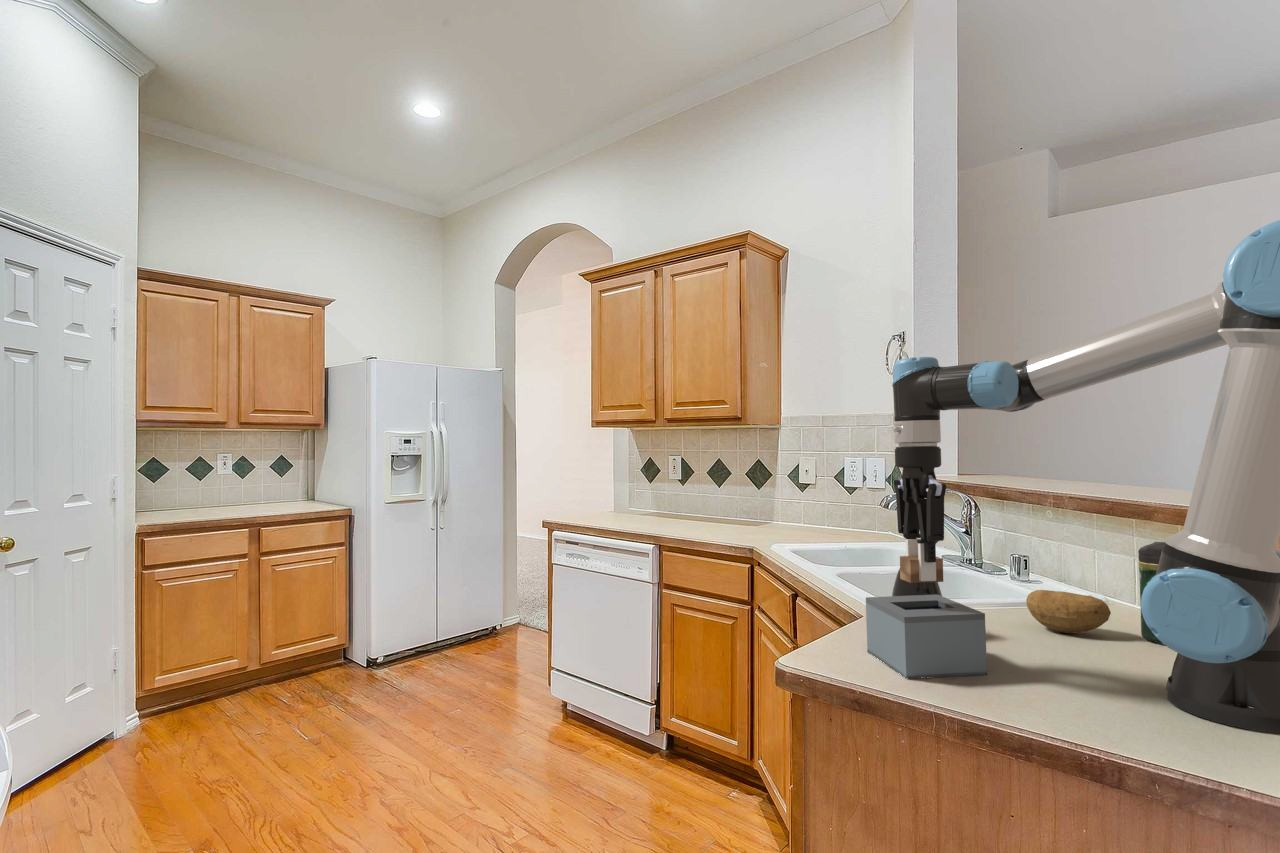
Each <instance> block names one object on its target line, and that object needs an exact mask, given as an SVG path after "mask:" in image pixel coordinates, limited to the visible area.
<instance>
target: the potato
mask: <svg viewBox="0 0 1280 853" xmlns="http://www.w3.org/2000/svg"><path fill="white" fill-rule="evenodd" d="M1025 601H1026V607H1027V609H1028V612H1030V614H1031V615H1032V617H1033V618H1034V619H1035V620H1036V621H1037V622H1038V623H1039V624H1041V625H1042V626H1044V627H1046V628H1048V629H1050V630H1054V631H1056V632H1059V633H1066V634H1077V633H1083V632H1090V631H1093V630H1096V629H1097V628H1100V627H1101V626H1103V625H1104V624H1105V623H1106V622H1108V621H1109V620H1110V616H1111V613H1112V612H1111V609H1110V607H1109V606H1108V604H1107V603H1106V602H1105V601H1104V600H1102V599H1100V598H1097V597H1095V596H1092V595H1086V594H1085V595H1084V594H1079V593H1078V594H1077V593H1073V592H1068V591H1061V590H1060V591H1059V590H1058V591H1057V590H1048V589H1036V590H1033V591H1031V592H1030V593H1029V594H1028V595H1027V596H1026V599H1025Z"/></svg>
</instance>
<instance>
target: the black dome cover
mask: <svg viewBox="0 0 1280 853" xmlns="http://www.w3.org/2000/svg"><path fill="white" fill-rule="evenodd" d="M936 594H937V595H940V596H942V597H943V594H942V591H941V587H940V584H939V582H924V583H910V582H907V581H905V580H902V579H900V568H899V569H898V571H897V573H896V577H895V580H894V584H893V588H892V594H891V596H912V595H936Z"/></svg>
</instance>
